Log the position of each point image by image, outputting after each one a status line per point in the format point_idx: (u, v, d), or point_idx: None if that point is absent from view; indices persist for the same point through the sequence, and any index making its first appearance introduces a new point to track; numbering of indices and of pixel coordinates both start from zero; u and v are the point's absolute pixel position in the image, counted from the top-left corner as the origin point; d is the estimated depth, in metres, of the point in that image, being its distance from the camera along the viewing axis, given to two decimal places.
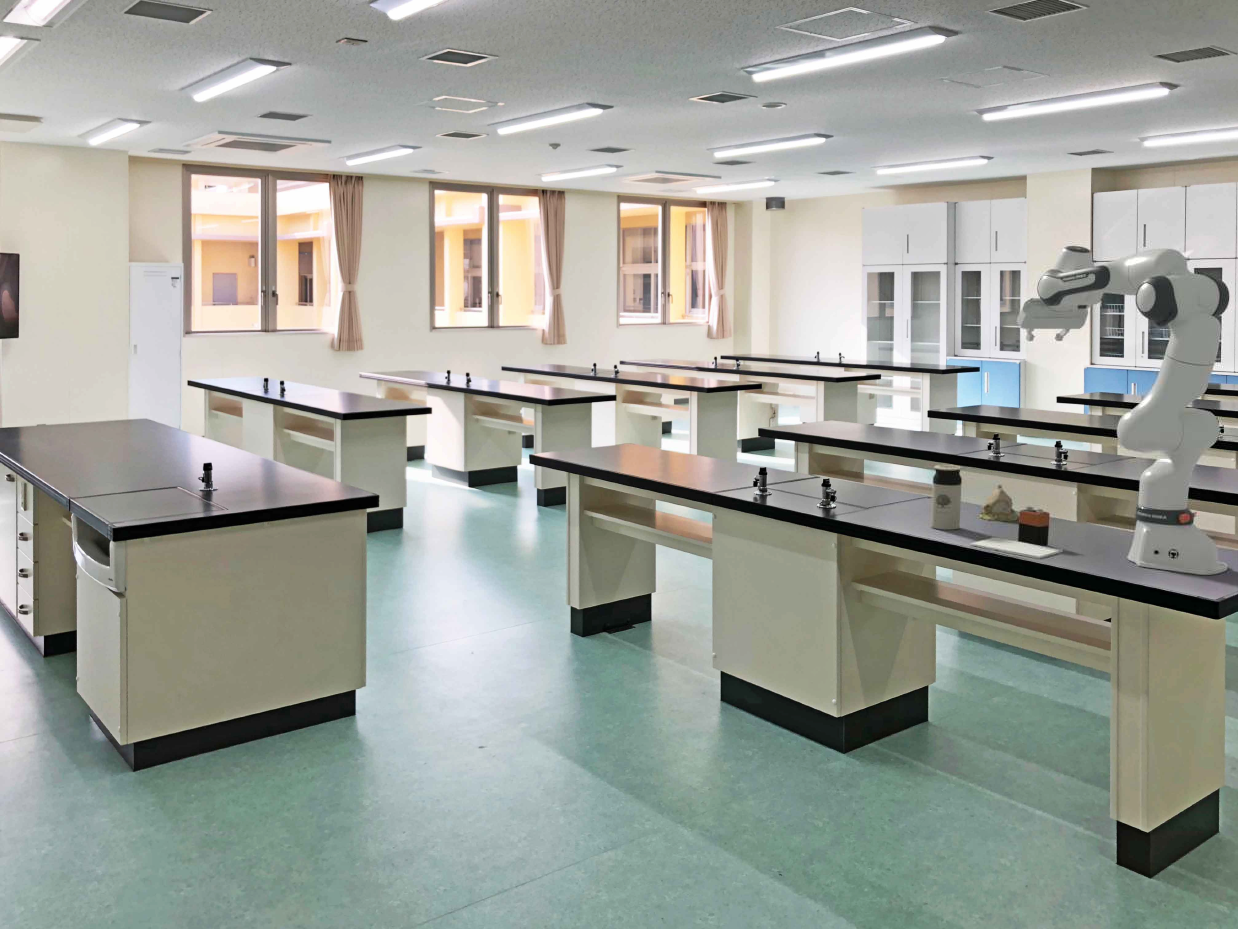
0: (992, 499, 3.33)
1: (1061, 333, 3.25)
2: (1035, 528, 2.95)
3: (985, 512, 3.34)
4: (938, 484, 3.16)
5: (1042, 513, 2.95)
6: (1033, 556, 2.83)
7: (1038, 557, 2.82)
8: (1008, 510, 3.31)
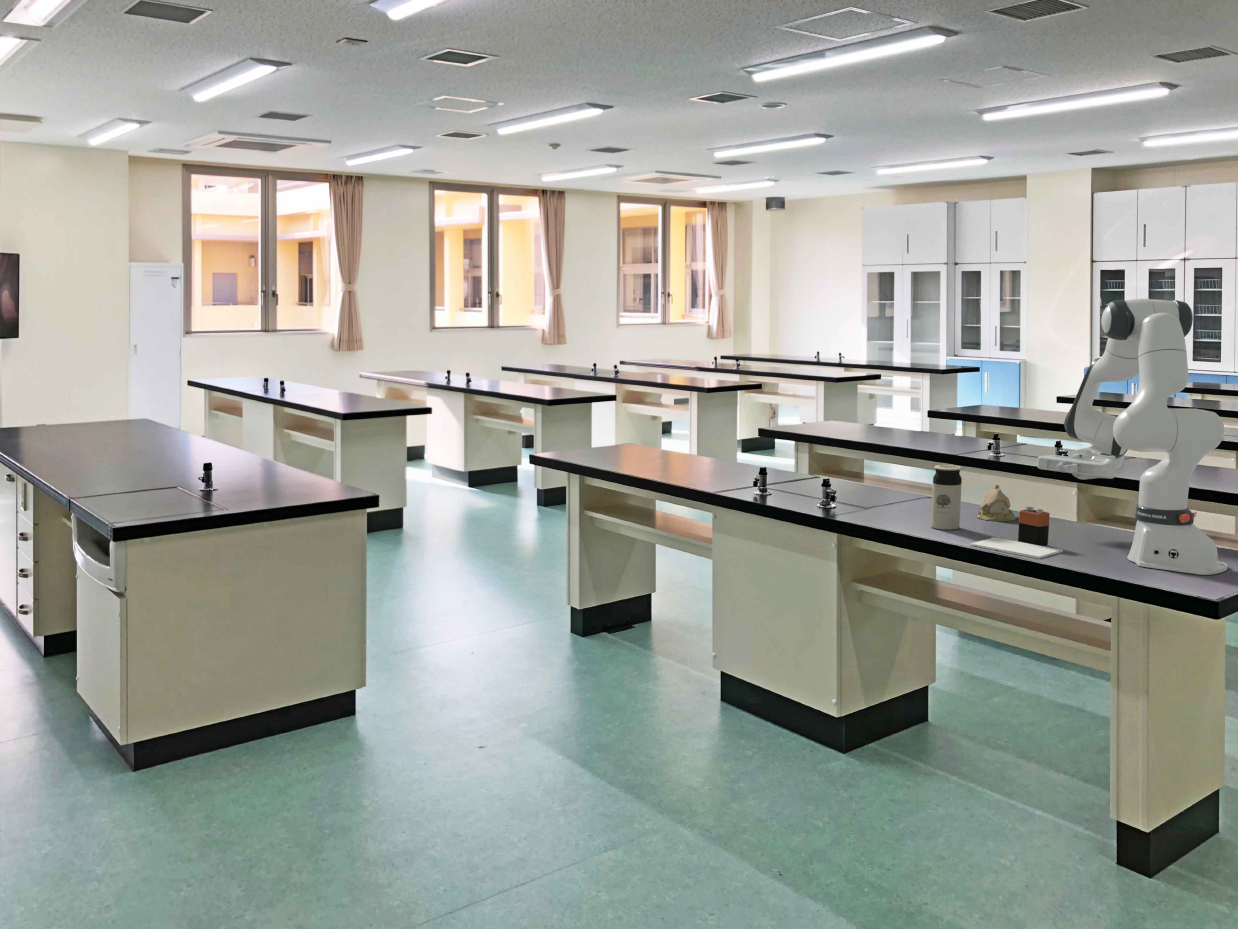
0: (990, 499, 3.32)
1: None
2: (1035, 528, 2.95)
3: (983, 512, 3.34)
4: (938, 484, 3.16)
5: (1042, 513, 2.95)
6: (1033, 556, 2.83)
7: (1038, 557, 2.82)
8: (1006, 510, 3.31)
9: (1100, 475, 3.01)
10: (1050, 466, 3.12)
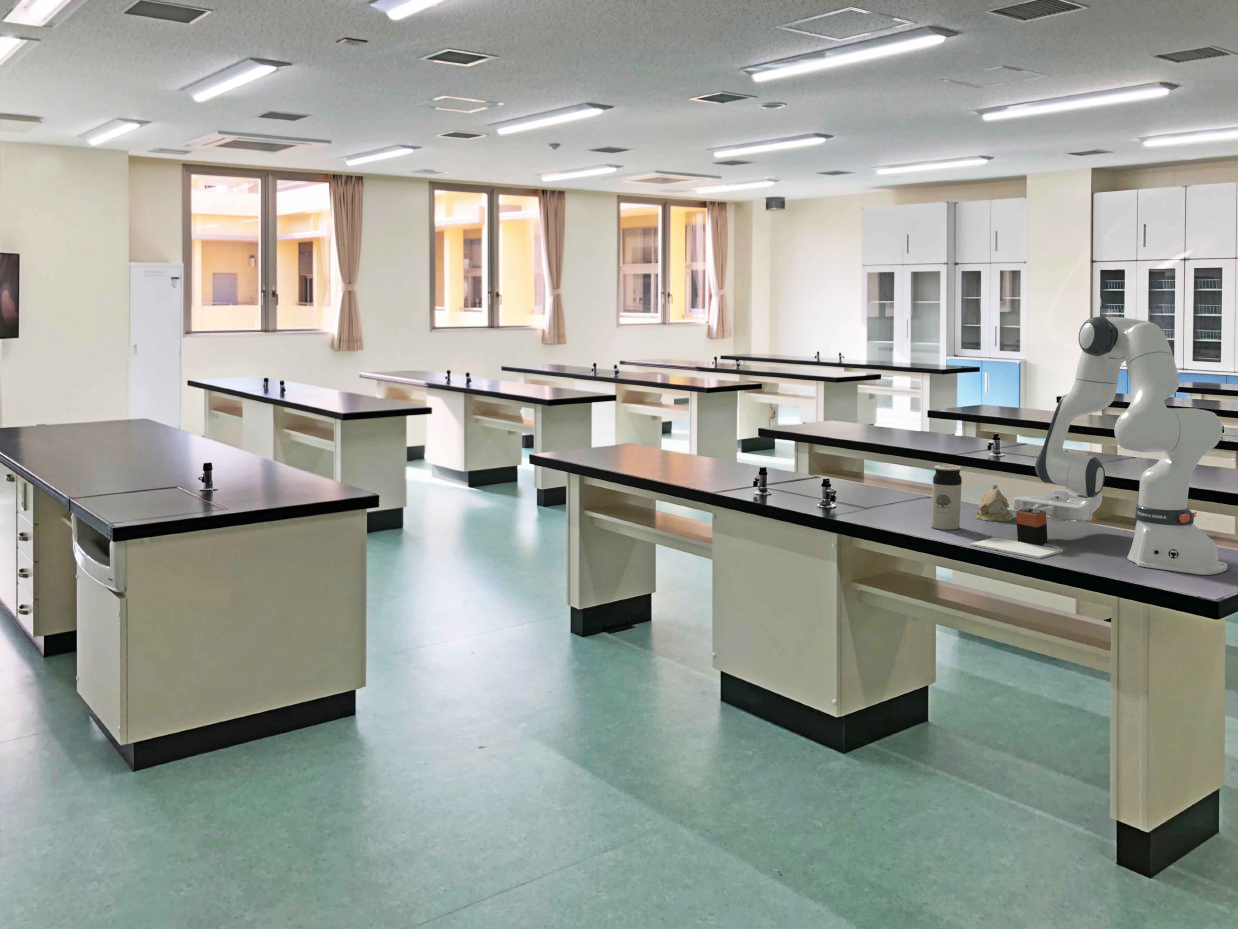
0: (989, 499, 3.32)
1: None
2: (1033, 529, 2.94)
3: (982, 513, 3.33)
4: (938, 484, 3.16)
5: (1038, 513, 2.94)
6: (1033, 556, 2.83)
7: (1038, 557, 2.82)
8: (1005, 510, 3.31)
9: (1076, 518, 2.94)
10: None
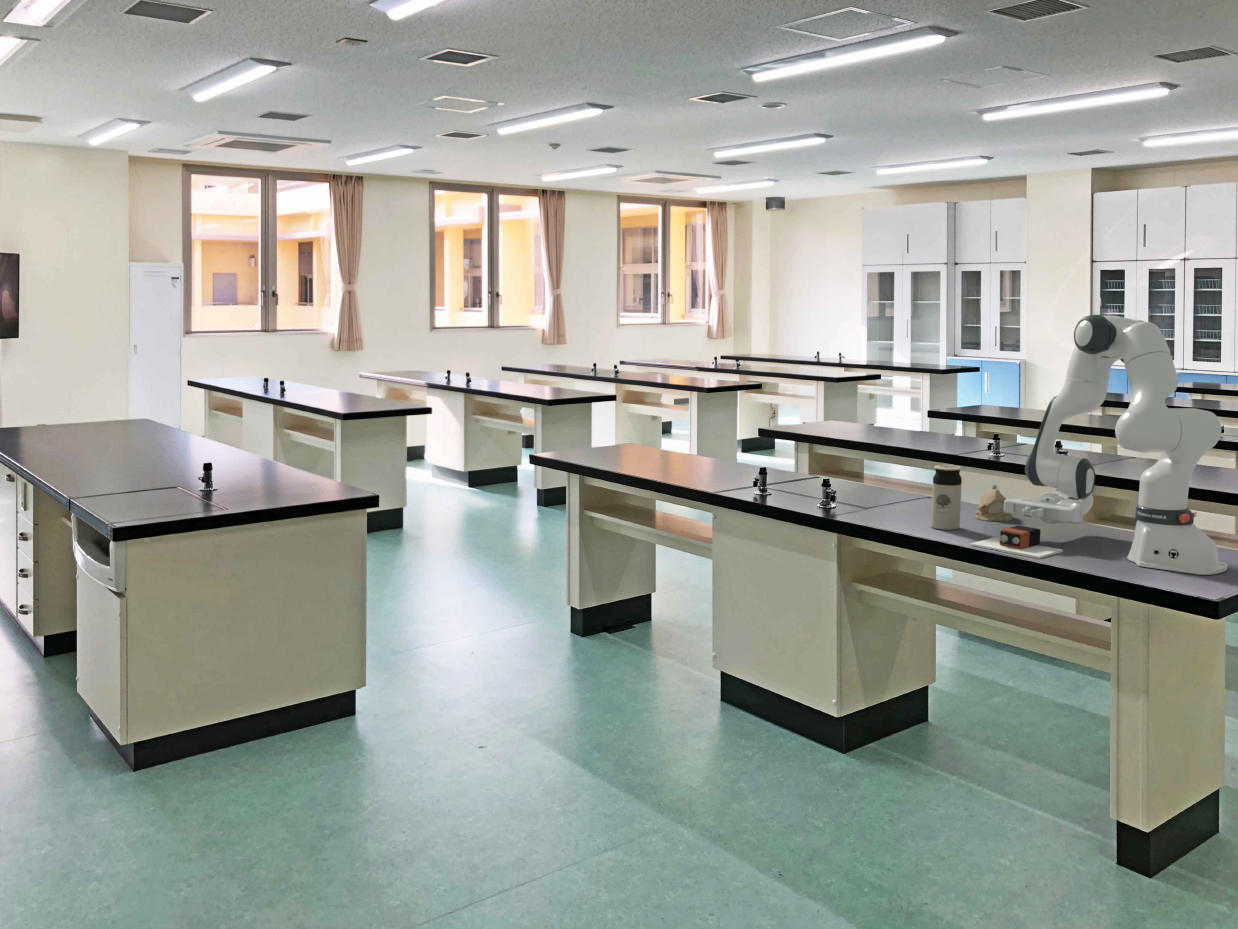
0: (988, 499, 3.32)
1: None
2: None
3: (981, 513, 3.33)
4: (938, 484, 3.16)
5: (1020, 543, 2.90)
6: (1033, 556, 2.83)
7: (1038, 557, 2.82)
8: None
9: (1067, 521, 2.91)
10: (1016, 510, 3.03)
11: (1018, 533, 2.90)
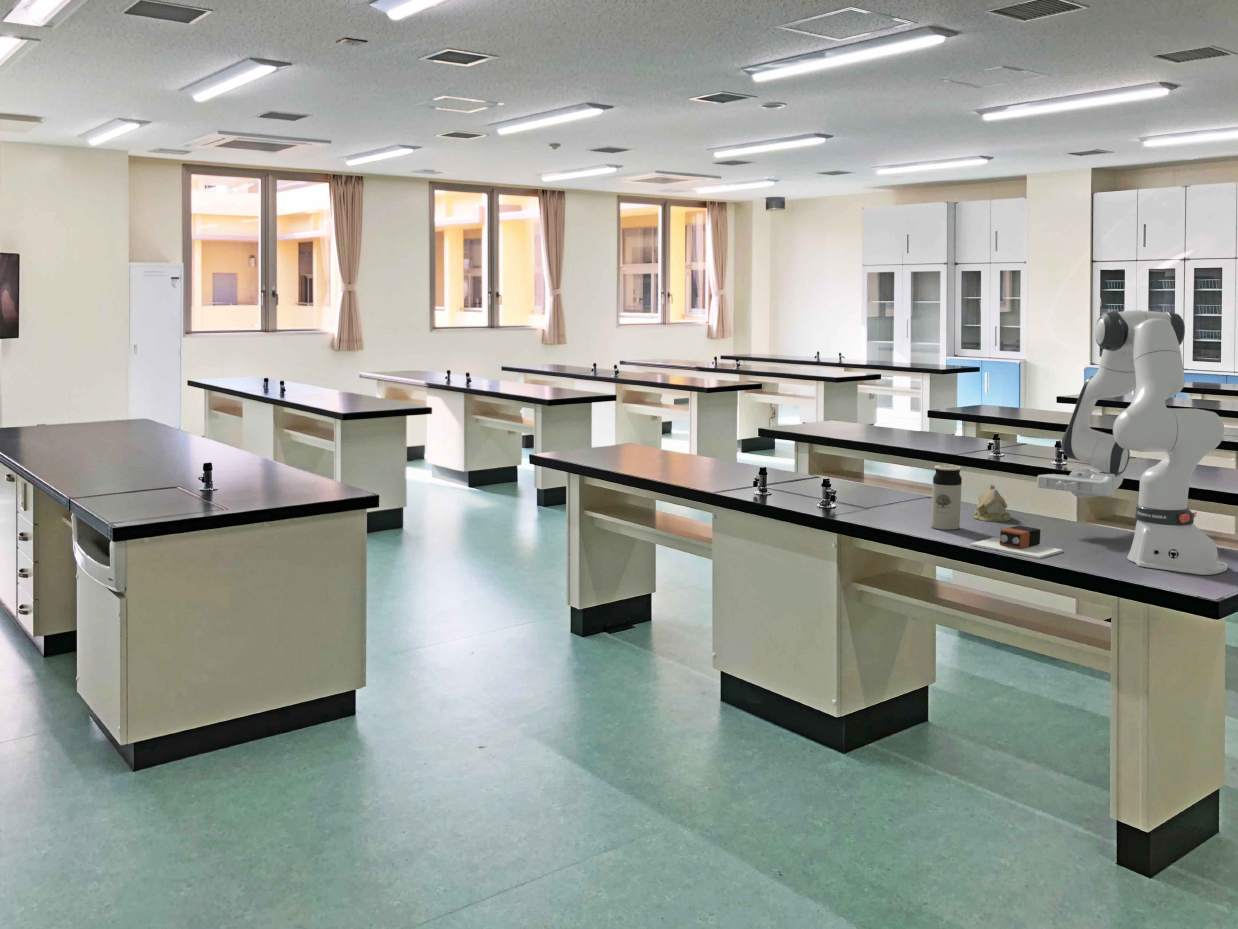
0: (987, 500, 3.32)
1: None
2: None
3: (980, 513, 3.33)
4: (938, 484, 3.16)
5: (1020, 543, 2.90)
6: (1033, 556, 2.83)
7: (1038, 557, 2.82)
8: (1003, 510, 3.31)
9: (1100, 493, 3.01)
10: (1050, 485, 3.12)
11: (1018, 533, 2.90)
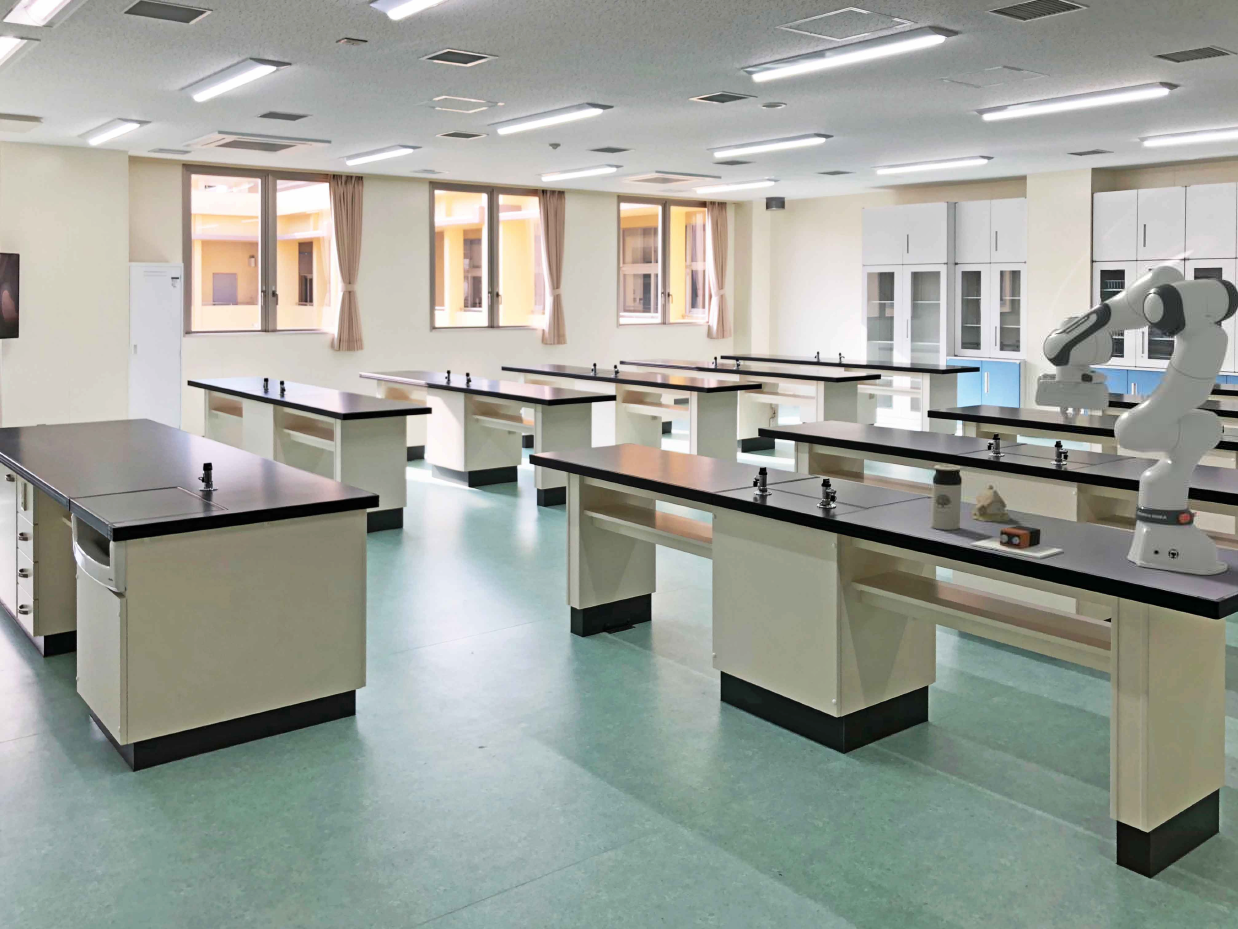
0: (986, 500, 3.31)
1: None
2: None
3: (979, 513, 3.32)
4: (938, 484, 3.16)
5: (1020, 543, 2.90)
6: (1033, 556, 2.83)
7: (1038, 557, 2.82)
8: (1002, 510, 3.31)
9: None
10: None
11: (1018, 533, 2.90)
